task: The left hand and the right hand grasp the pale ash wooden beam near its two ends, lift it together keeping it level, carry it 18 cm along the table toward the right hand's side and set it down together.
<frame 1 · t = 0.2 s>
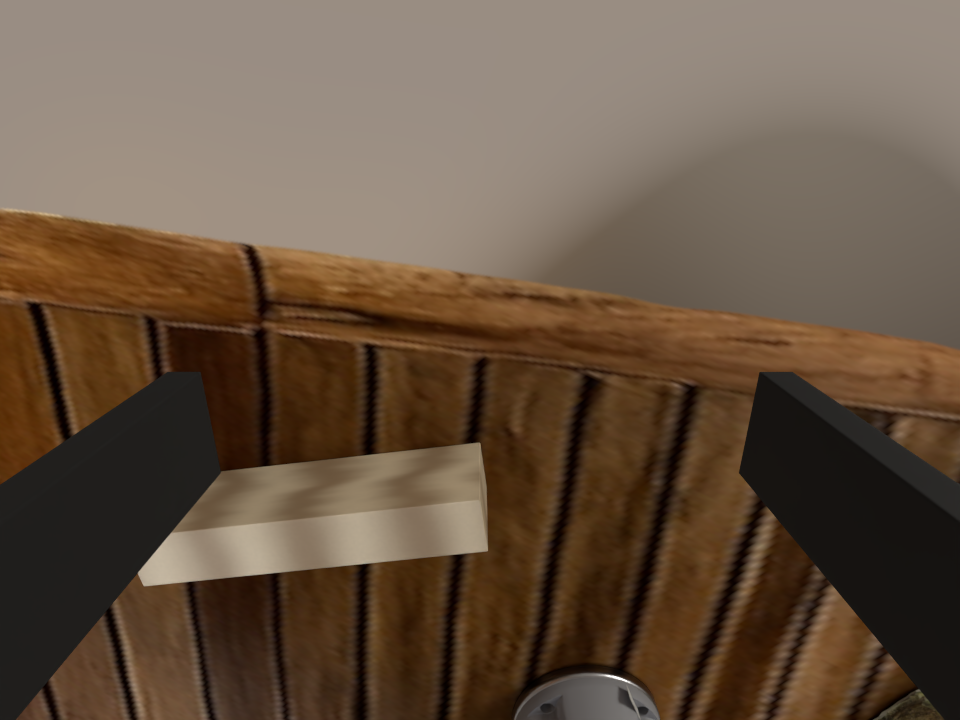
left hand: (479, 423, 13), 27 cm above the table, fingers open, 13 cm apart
ash beam: (334, 481, 45), on the table
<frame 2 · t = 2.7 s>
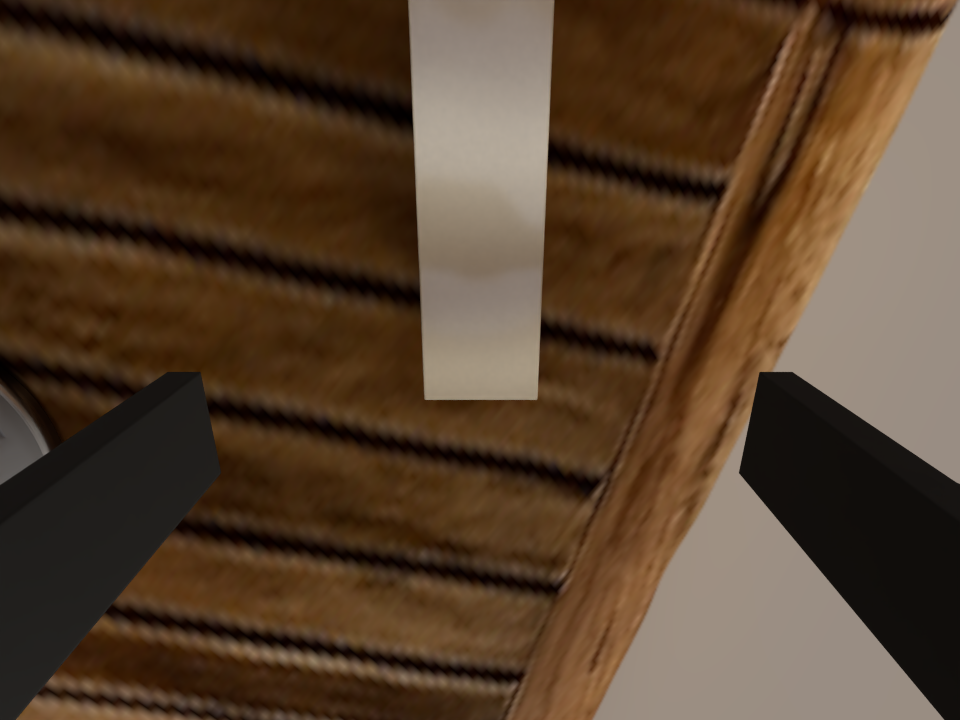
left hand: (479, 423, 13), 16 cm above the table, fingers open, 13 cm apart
ash beam: (480, 64, 24), on the table
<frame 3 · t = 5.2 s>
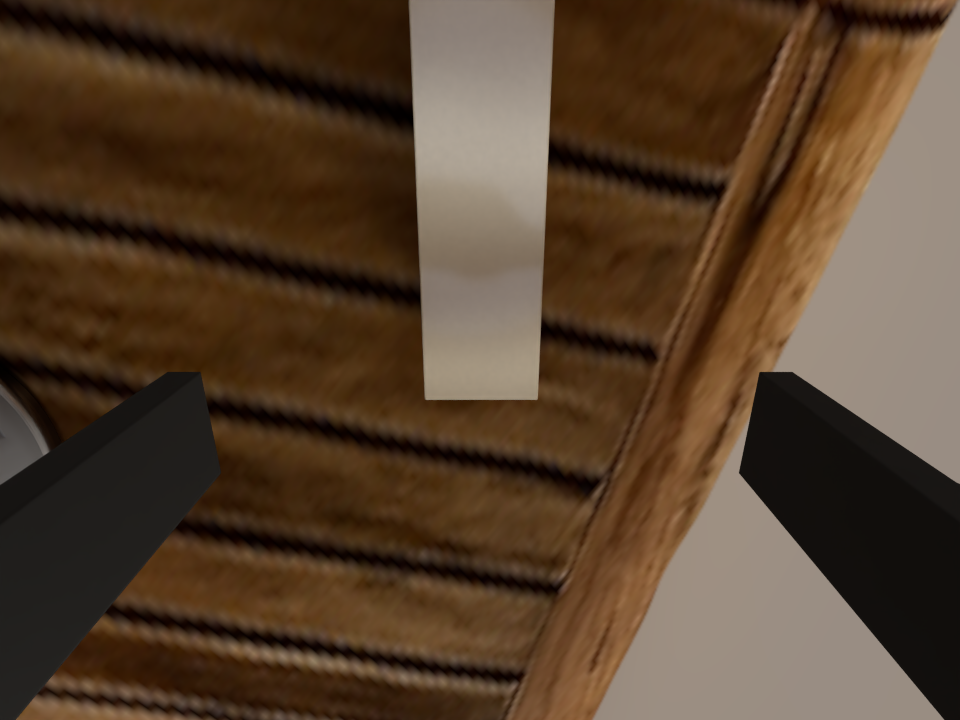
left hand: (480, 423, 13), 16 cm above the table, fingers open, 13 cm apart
ash beam: (480, 64, 24), on the table, touching right hand
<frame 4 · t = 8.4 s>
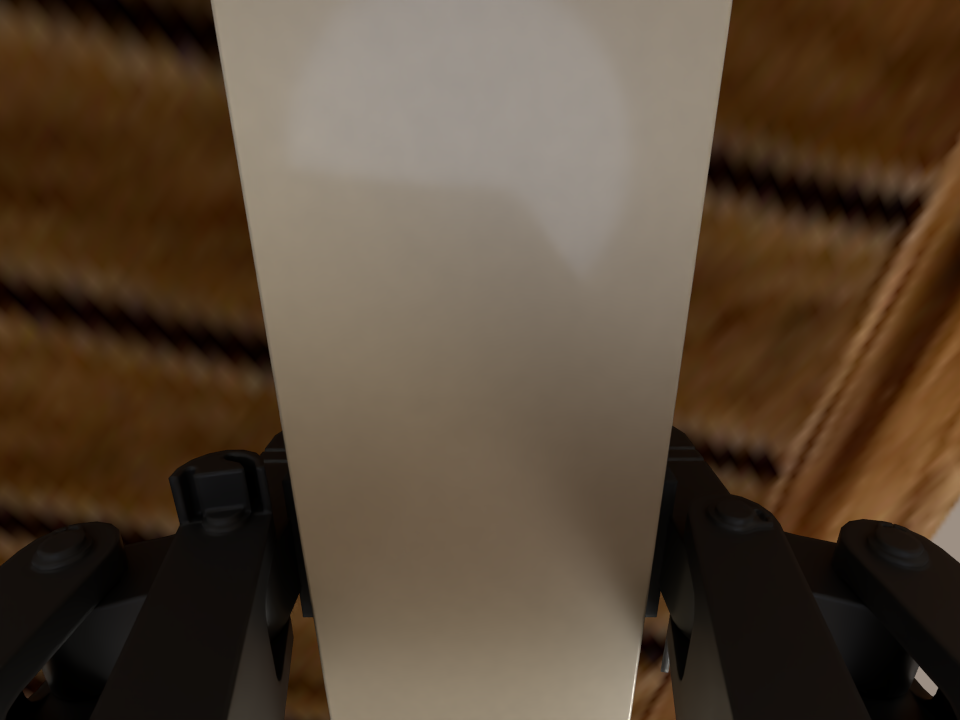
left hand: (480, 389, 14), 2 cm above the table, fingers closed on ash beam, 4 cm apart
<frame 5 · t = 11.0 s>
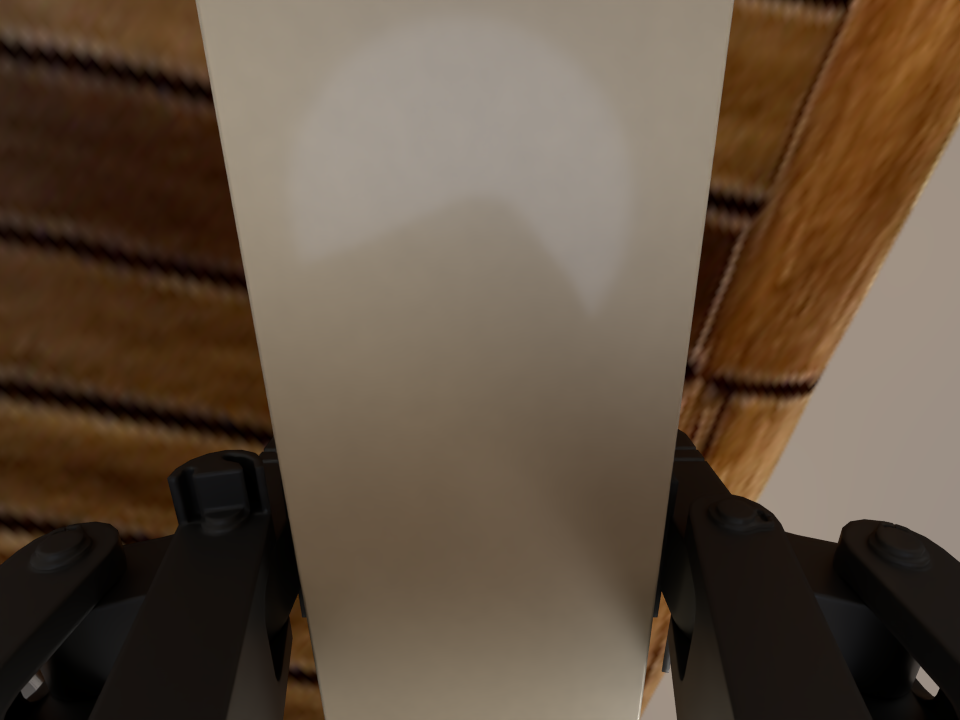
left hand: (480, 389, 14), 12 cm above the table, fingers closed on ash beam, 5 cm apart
when the left hand's fingers open (0 cm above the table, at t = 13.6 s): ash beam stays where it is, on the table.
when the right hand's fingers open (4 cm above the table, at t = 13.8 s): ash beam stays where it is, on the table.
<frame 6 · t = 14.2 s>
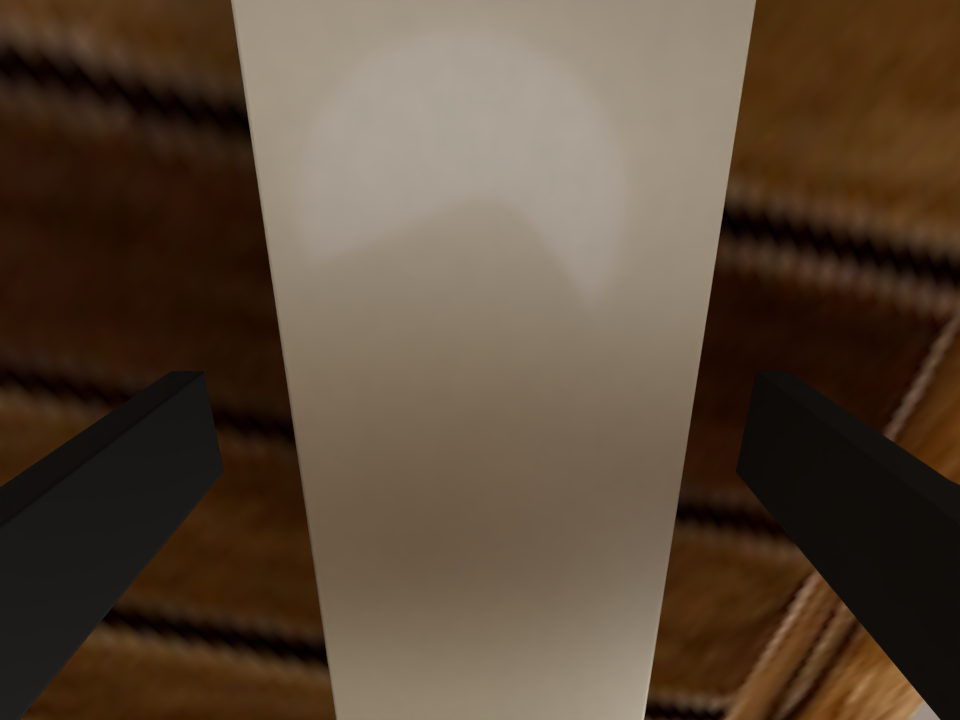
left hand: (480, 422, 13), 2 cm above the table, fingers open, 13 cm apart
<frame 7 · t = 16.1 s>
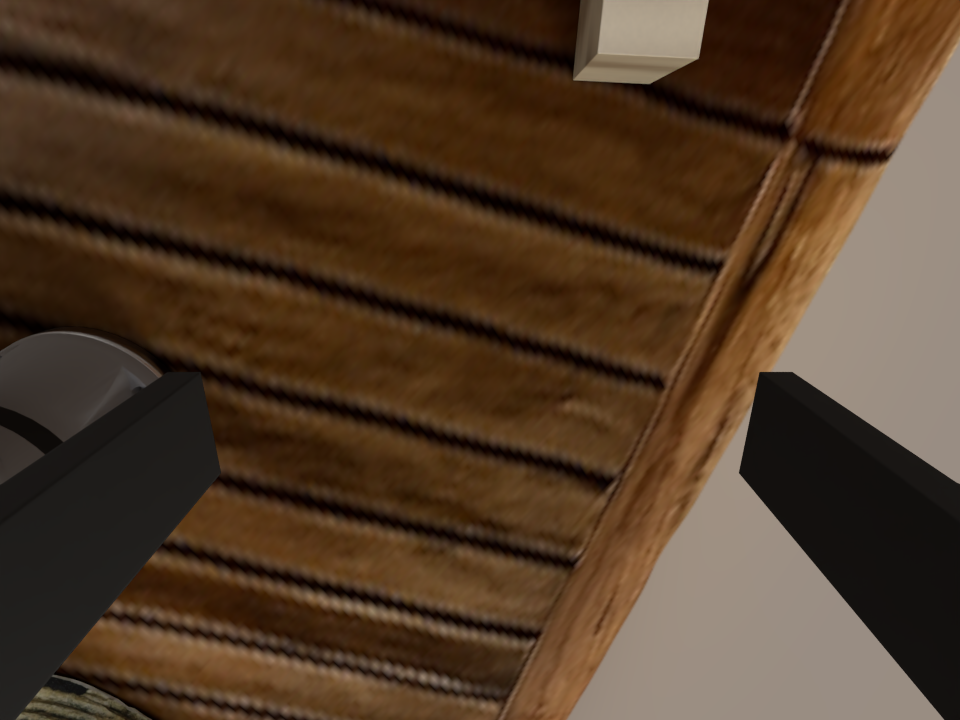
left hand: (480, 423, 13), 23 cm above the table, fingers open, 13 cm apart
fossil: (104, 714, 51), on the table
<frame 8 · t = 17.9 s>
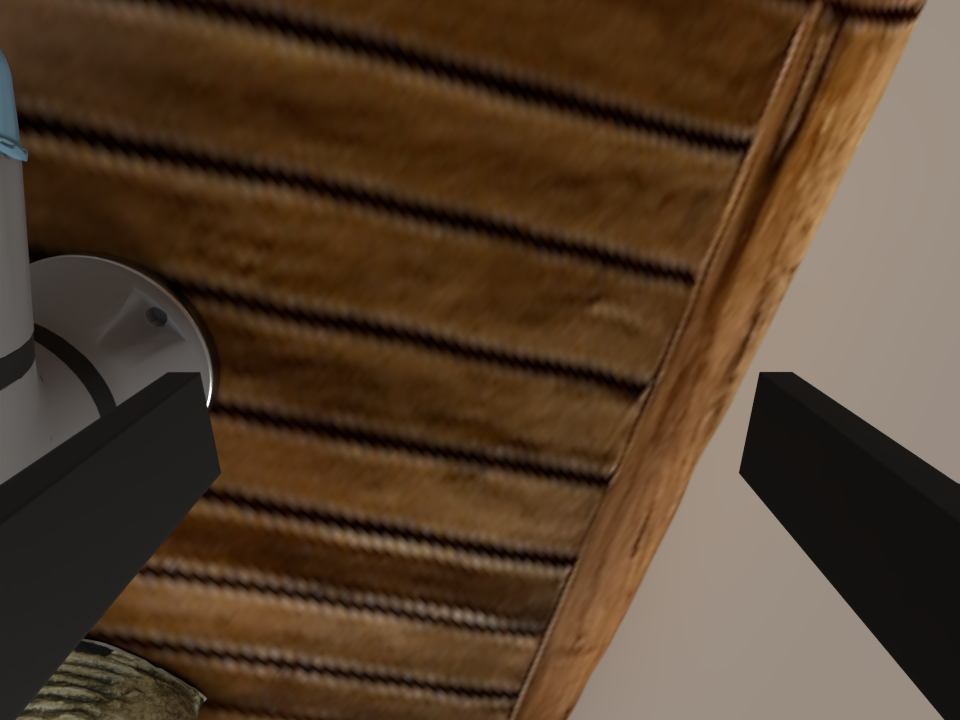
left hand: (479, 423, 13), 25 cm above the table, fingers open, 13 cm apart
fossil: (130, 678, 50), on the table
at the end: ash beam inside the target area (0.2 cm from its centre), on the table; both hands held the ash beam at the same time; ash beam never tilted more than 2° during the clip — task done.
